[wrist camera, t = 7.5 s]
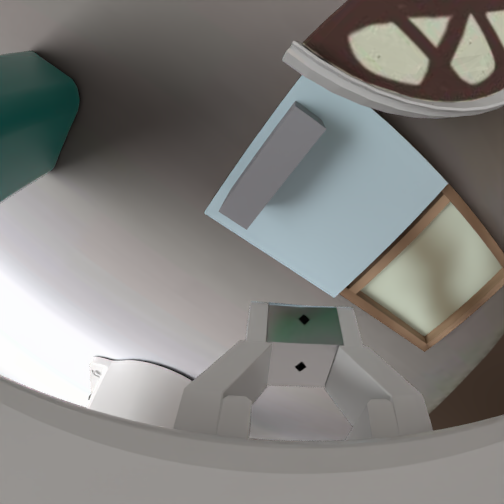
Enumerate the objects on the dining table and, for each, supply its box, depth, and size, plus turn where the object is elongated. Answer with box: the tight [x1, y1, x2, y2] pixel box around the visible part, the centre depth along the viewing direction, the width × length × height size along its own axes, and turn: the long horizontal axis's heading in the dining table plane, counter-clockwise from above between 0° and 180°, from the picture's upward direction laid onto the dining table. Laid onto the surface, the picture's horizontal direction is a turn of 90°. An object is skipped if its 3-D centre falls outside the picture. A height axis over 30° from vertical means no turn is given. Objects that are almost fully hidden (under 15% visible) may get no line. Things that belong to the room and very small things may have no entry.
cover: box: [204, 75, 448, 297], centre depth 16 cm, size 10×10×4 cm
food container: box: [282, 0, 504, 119], centre depth 9 cm, size 12×6×10 cm, turn 139°
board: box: [339, 108, 504, 352], centre depth 19 cm, size 10×21×1 cm, turn 56°
